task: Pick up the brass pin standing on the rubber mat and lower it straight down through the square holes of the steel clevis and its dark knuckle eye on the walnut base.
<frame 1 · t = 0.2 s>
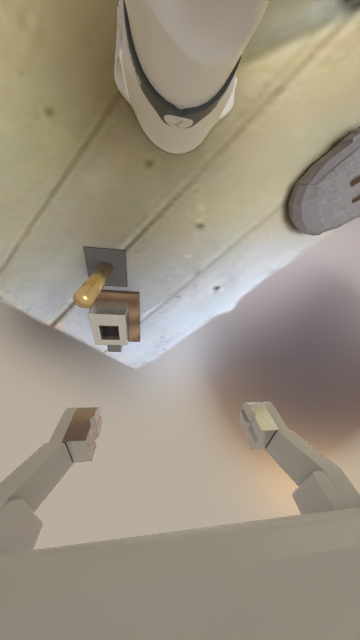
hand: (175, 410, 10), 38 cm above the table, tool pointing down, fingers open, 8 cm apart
rubber mat: (107, 267, 43), on the table
brass pin: (97, 281, 36), on the rubber mat
steel clevis: (113, 329, 47), on the walnut base, point 5 cm above the table
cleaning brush: (328, 187, 38), on the table
walnut base: (116, 314, 50), on the table
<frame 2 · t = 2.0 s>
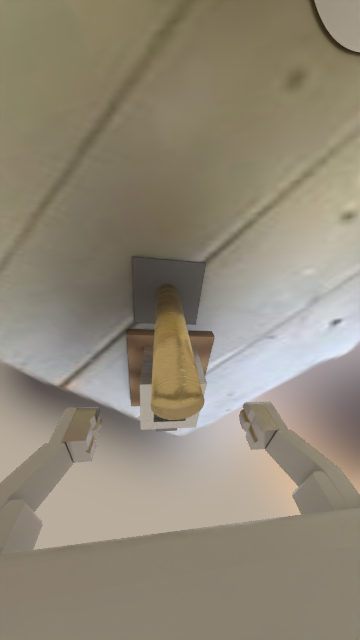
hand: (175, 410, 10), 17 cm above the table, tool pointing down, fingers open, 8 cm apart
rubber mat: (167, 293, 24), on the table
brass pin: (170, 327, 17), on the rubber mat
steel clevis: (168, 396, 27), on the walnut base, point 5 cm above the table
walnut base: (168, 365, 31), on the table
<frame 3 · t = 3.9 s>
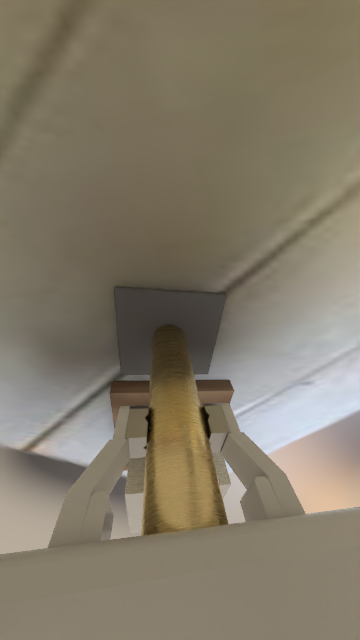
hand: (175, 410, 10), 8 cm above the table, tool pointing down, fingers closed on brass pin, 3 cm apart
rubber mat: (168, 335, 16), on the table
brass pin: (176, 427, 9), on the rubber mat, touching gripper
steel clevis: (170, 473, 19), on the walnut base, point 5 cm above the table
walnut base: (169, 420, 23), on the table
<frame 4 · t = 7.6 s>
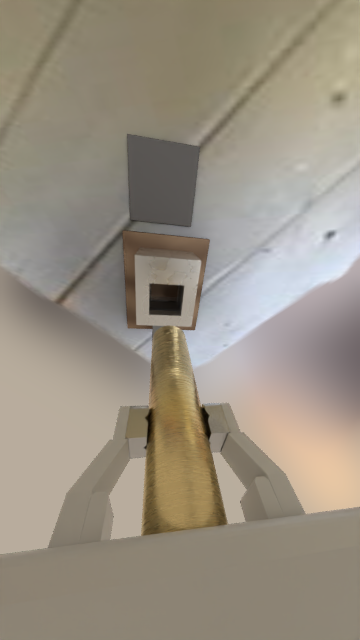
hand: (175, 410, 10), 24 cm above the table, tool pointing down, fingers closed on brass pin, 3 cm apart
rubber mat: (162, 186, 24), on the table
brass pin: (176, 428, 9), point 25 cm above the table, touching gripper
steel clevis: (164, 300, 27), on the walnut base, point 5 cm above the table
walnut base: (164, 281, 31), on the table
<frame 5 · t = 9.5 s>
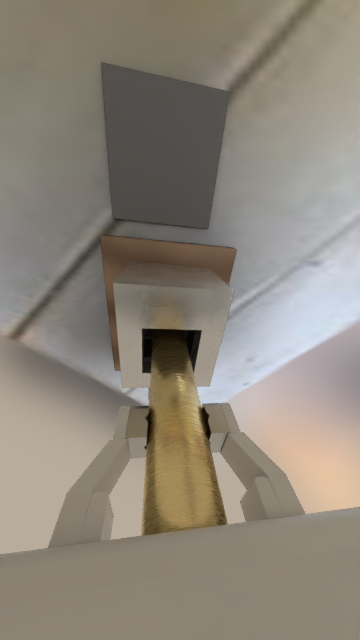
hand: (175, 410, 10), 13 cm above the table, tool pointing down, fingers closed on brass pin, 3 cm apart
rubber mat: (164, 163, 15), on the table
brass pin: (176, 428, 9), point 14 cm above the table, touching gripper
steel clevis: (167, 342, 18), on the walnut base, point 5 cm above the table
walnut base: (166, 307, 21), on the table
when the fingers open (10 cm above the table, at t = 11.3 s): brass pin stays where it is, resting on walnut base.
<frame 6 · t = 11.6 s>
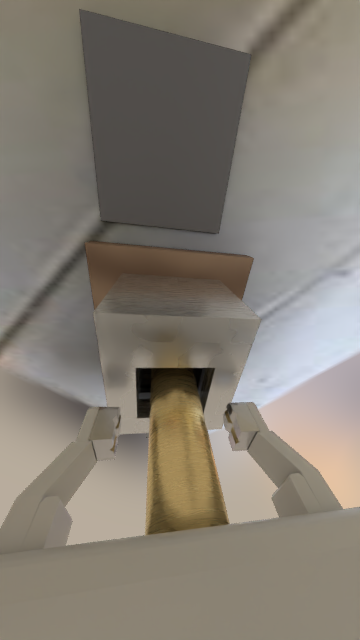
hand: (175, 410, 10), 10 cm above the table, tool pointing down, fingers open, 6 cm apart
rubber mat: (165, 151, 12), on the table
brass pin: (176, 412, 10), in the steel clevis, point 10 cm above the table, touching walnut base
steel clevis: (169, 371, 15), on the walnut base, point 5 cm above the table
walnut base: (167, 325, 18), on the table
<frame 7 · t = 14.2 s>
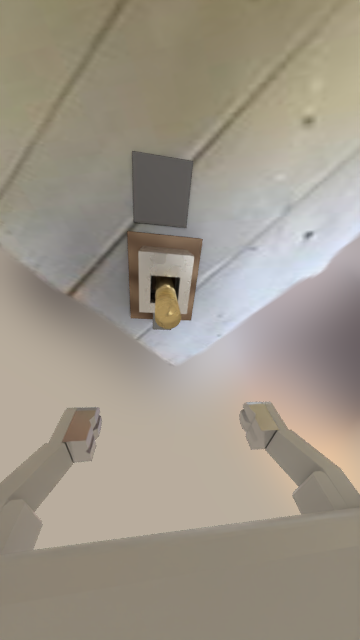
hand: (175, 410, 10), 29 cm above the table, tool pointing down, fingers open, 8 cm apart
rubber mat: (161, 193, 28), on the table
brass pin: (165, 292, 27), in the steel clevis, point 10 cm above the table, touching walnut base
steel clevis: (163, 292, 31), on the walnut base, point 5 cm above the table
walnut base: (163, 276, 35), on the table
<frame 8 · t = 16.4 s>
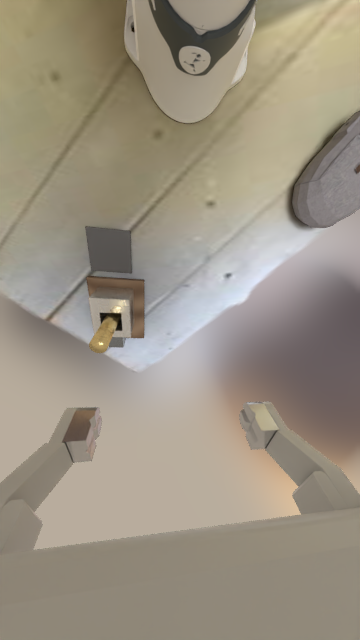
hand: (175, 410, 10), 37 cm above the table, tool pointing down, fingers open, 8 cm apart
rubber mat: (110, 251, 39), on the table
brass pin: (110, 323, 37), in the steel clevis, point 10 cm above the table, touching walnut base
steel clevis: (115, 320, 42), on the walnut base, point 5 cm above the table
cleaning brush: (330, 179, 37), on the table
walnut base: (119, 306, 46), on the table
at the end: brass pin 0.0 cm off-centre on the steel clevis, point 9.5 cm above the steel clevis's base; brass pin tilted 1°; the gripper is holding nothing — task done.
